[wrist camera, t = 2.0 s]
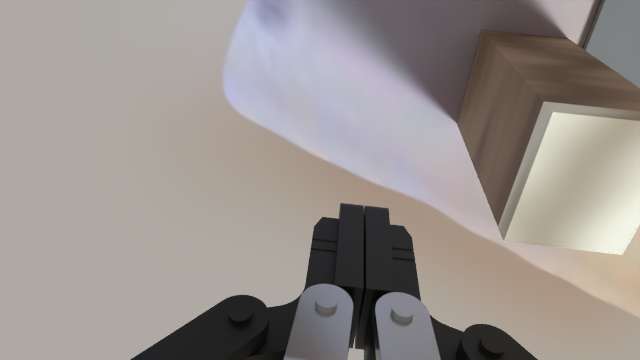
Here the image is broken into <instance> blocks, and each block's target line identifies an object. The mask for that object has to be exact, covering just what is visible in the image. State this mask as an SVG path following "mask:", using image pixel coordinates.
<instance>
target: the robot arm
mask: <svg viewBox="0 0 640 360" xmlns="http://www.w3.org/2000/svg"><path fill="white" fill-rule="evenodd" d="M354 338H355V348H356V349H363V350H364V360H537V359H536V358H535V357H534V356H533V355H532V354H530V353H529V352H528V351H526V350H525V348H523V347H522V346H521V345H520V344H519V343H518V342H516V341H515V340H514V339H513V338H512V337H511V336H510V335H508V334H507V333H505V332H504V331H502V330H501V329H499V328H496V327H494V326H491V325H487V324H475V325H472V326H470V327H468V328H467V329H466V330H465V331H464V332H462V331H459V330H457V329H454V328H452V327H449V326H447V325H445V324H442V323H440V322H439V321H437V320H436V319H434V318H433V317H432V316H431V315H430V314H429V312H428V310H427V308H426V306H425V305H424V304H423V303H422V302H421V298H420V292H419V285H418V278H417V271H416V264H415V257H414V252H413V242H412V237H411V236H410V234H409V233H408V232H407V230H406V229H405V227H404V226H398V225H390V222H389V210H388V208H381V207H372V206H365V207H363V206H362V205H353V204H344V203H341V204H340V211H339V219H335V218H326V217H322V218H321V219H320V220H319V222H318V223H317V224H316V225H315V226H314V231H313V238H312V245H311V252H310V258H309V265H308V271H307V278H306V285H305V289H304V291H303V292H302V294H301V295H300V296H299V297H298V298H297V299H296V300H294V301H293V302H290V303H288V304H285V305H282V306H275V307H269V308H267V307H266V305H265V304H264V303H263V302H262V301H261V300H259V299H257V298H255V297H253V296H248V295H236V296H232V297H229V298H227V299H225V300H223V301H221V302H220V303H218V304H217V305H215V306H214V307H212V308H210V309H209V310H207V311H206V312H204V313H203V314H201V315H200V316H198V317H196V318H195V319H193V320H192V321H190V322H189V323H187V324H185V325H184V326H182V327H181V328H179V329H178V330H176V331H175V332H173V333H171V334H170V335H168V336H167V337H165V338H164V339H162V340H160V341H159V342H157V343H156V344H154V345H153V346H151V347H150V348H148V349H146V350H145V351H143V352H142V353H140V354H139V355H137V356H135V357H134V358H132V359H131V360H347V357H348V351H349V348H353V343H354Z"/></svg>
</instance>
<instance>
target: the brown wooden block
mask: <svg viewBox="0 0 640 360" xmlns="http://www.w3.org/2000/svg"><path fill="white" fill-rule="evenodd" d="M457 125H458V127H459V130H460V132H461V135H462V137H463V140H464V142H465V145H466V147H467V150H468V152H469V155H470V157H471V160H472V162H473V165H474V168H475V170H476V173H477V175H478V178H479V180H480V183H481V185H482V188H483V190H484V193H485V195H486V198H487V200H488V203H489V205H490V208H491V210H492V213H493V215H494V218H495V220H496V223H497V225H498V228H499V230H500V233H501V235H502V238H503V240H504V241H508V242H516V243H525V244H533V245H542V246H551V247H559V248H568V249H577V250H585V251H594V252H602V253H611V254H620V255H622V254H623V253H624V251H625V249H626V248H627V246H628V244H629V242H630V241H631V239H632V237H633V235H634V234H635V232H636V230H637V228H638V227H639V225H640V88H639V87H637V86H636V85H634V84H633V83H632V82H630V81H629V80H627V79H626V78H624V77H623V76H621V75H620V74H619V73H617V72H616V71H614V70H613V69H611V68H610V67H608V66H607V65H605V64H604V63H603V62H601V61H600V60H598V59H597V58H595V57H594V56H592V55H591V54H590V53H588V52H587V51H585V50H584V49H582V48H581V47H579V46H578V45H577V44H575V43H574V42H572V41H571V40H569V39H566V38H556V37H546V36H535V35H525V34H515V33H505V32H495V31H485V30H481V34H480V38H479V42H478V45H477V49H476V53H475V57H474V61H473V64H472V68H471V72H470V76H469V80H468V84H467V87H466V91H465V95H464V99H463V103H462V106H461V110H460V114H459V118H458V122H457Z"/></svg>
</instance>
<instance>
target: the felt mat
mask: <svg viewBox="0 0 640 360" xmlns="http://www.w3.org/2000/svg"><path fill="white" fill-rule="evenodd" d="M583 49H584V50H585V51H587V52H588V53H590V54H591V55H592V56H594V57H595V58H597V59H598V60H600V61H601V62H603V63H604V64H605V65H607V66H608V67H610V68H611V69H613V70H614V71H616V72H617V73H619V74H620V75H621V76H623V77H624V78H626V79H627V80H629V81H630V82H632V83H633V84H634V85H636V86H637V87H639V88H640V0H602V1H601V3H600V6H599V8H598V11H597V14H596V16H595V19H594V21H593V24H592V26H591V29H590V32H589V34H588V37H587V39H586V42H585V44H584V47H583Z"/></svg>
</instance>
